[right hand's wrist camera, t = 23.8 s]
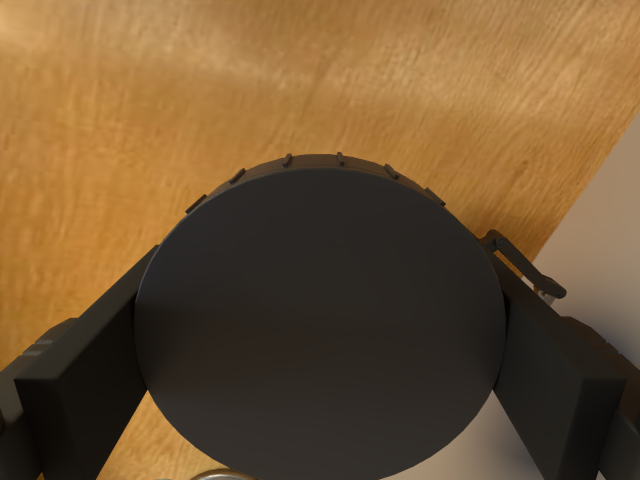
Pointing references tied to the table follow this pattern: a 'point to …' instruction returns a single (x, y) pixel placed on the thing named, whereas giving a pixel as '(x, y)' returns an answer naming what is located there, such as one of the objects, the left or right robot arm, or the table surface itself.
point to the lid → (319, 322)
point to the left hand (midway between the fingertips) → (390, 259)
